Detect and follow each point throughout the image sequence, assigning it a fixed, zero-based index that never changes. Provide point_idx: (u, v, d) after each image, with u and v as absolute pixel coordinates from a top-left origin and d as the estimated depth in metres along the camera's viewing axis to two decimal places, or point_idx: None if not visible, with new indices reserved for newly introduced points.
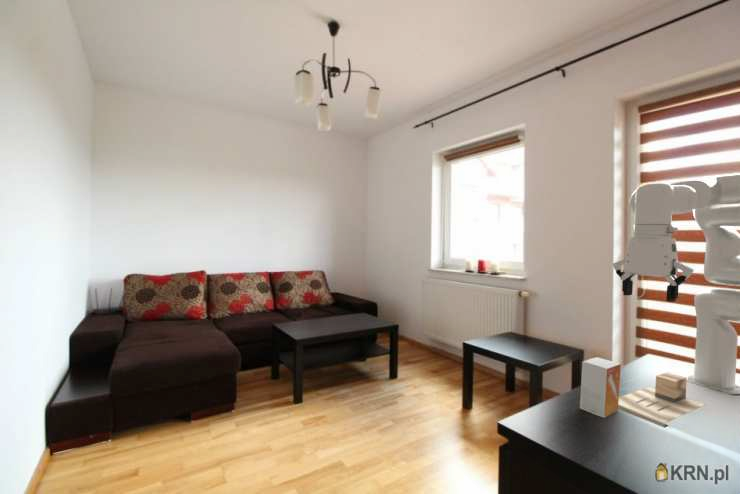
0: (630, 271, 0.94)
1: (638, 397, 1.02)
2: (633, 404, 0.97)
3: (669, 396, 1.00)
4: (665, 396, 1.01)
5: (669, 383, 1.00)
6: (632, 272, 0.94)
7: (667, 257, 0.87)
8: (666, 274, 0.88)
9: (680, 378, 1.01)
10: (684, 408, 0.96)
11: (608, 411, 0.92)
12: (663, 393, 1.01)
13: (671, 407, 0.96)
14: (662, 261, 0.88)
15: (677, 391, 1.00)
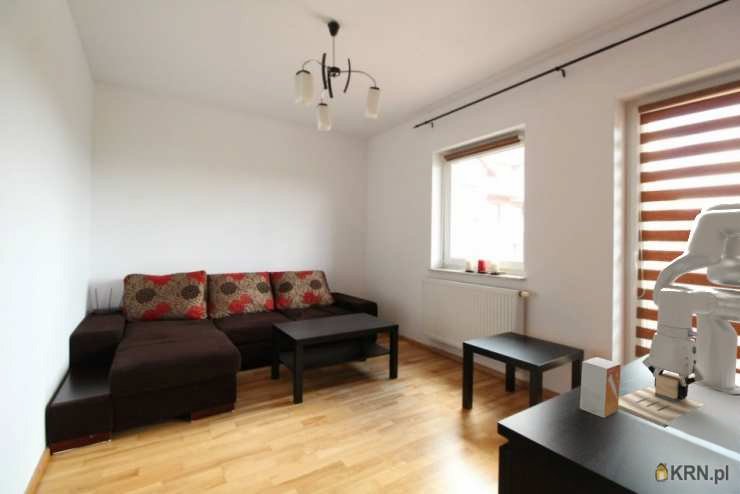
0: (653, 365, 1.05)
1: (638, 397, 1.02)
2: (633, 404, 0.97)
3: (669, 396, 1.00)
4: (665, 396, 1.01)
5: (669, 383, 1.00)
6: (655, 366, 1.04)
7: (688, 359, 0.98)
8: (687, 374, 0.98)
9: None
10: (684, 408, 0.96)
11: (608, 411, 0.92)
12: (663, 393, 1.01)
13: (671, 407, 0.96)
14: (684, 362, 0.98)
15: (677, 391, 1.00)
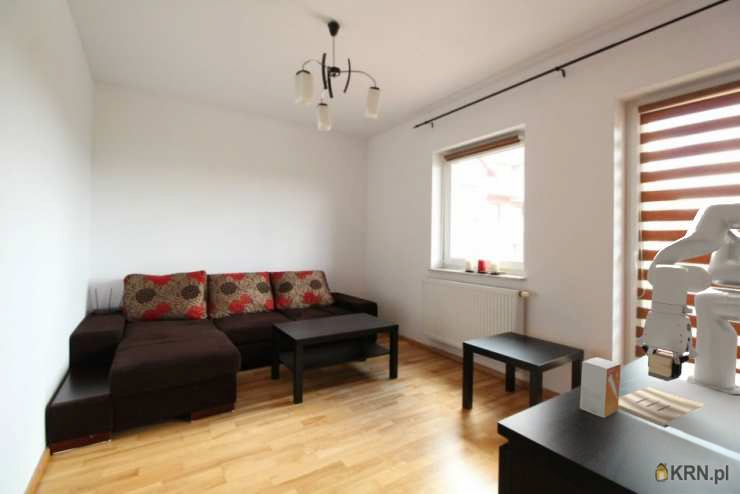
0: (647, 343, 1.02)
1: (638, 397, 1.02)
2: (633, 404, 0.97)
3: (662, 374, 0.98)
4: (658, 375, 0.98)
5: (662, 361, 0.98)
6: (649, 344, 1.02)
7: (683, 336, 0.95)
8: (681, 351, 0.96)
9: None
10: (684, 408, 0.96)
11: (608, 411, 0.92)
12: (656, 372, 0.99)
13: (671, 407, 0.96)
14: (678, 339, 0.96)
15: (671, 369, 0.98)
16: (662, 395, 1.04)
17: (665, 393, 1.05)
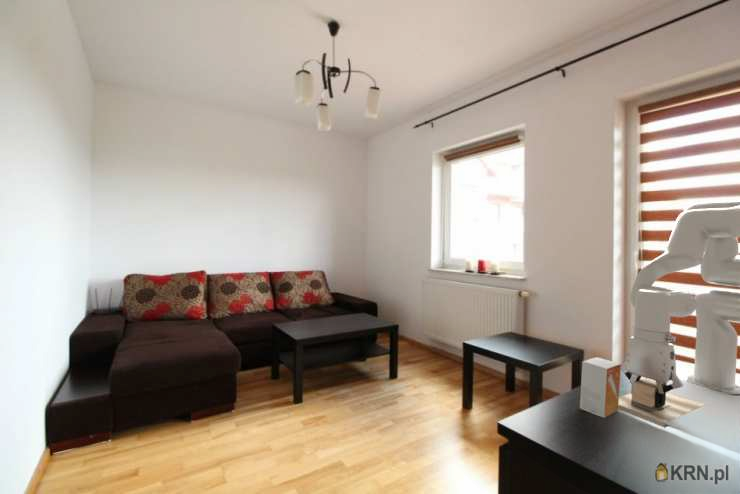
0: (630, 370, 0.98)
1: None
2: None
3: (645, 404, 0.94)
4: (641, 404, 0.95)
5: (645, 391, 0.94)
6: (632, 372, 0.98)
7: (666, 365, 0.91)
8: (665, 381, 0.92)
9: None
10: (684, 408, 0.96)
11: (608, 411, 0.92)
12: (639, 401, 0.95)
13: (671, 407, 0.96)
14: (661, 368, 0.92)
15: (654, 399, 0.94)
16: None
17: None
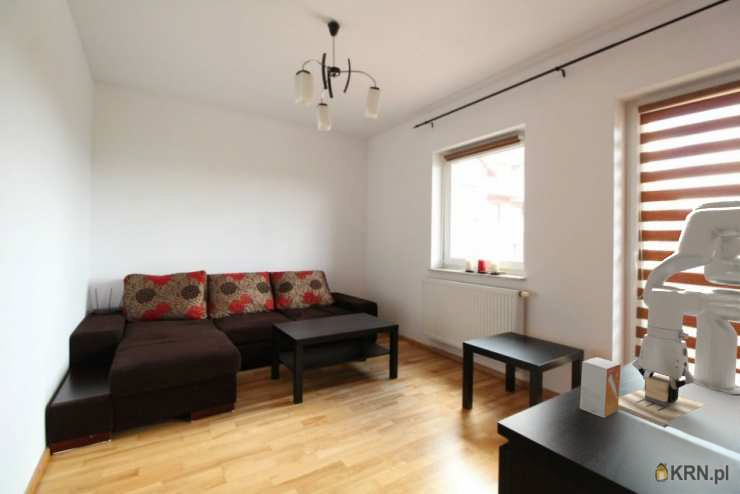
0: (644, 367, 1.02)
1: (638, 397, 1.02)
2: (633, 404, 0.97)
3: (659, 399, 0.97)
4: (655, 399, 0.98)
5: (659, 386, 0.97)
6: (645, 368, 1.01)
7: (679, 361, 0.95)
8: (678, 376, 0.95)
9: None
10: (684, 408, 0.96)
11: (608, 411, 0.92)
12: (653, 396, 0.98)
13: (671, 407, 0.96)
14: (674, 364, 0.96)
15: (667, 394, 0.97)
16: None
17: None
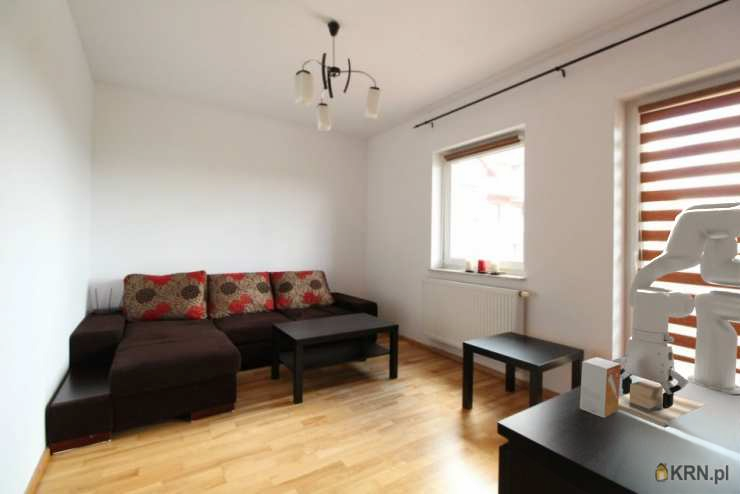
0: (628, 371, 0.98)
1: None
2: None
3: (643, 406, 0.93)
4: (639, 406, 0.94)
5: (643, 392, 0.93)
6: (630, 373, 0.98)
7: (664, 366, 0.91)
8: (663, 382, 0.91)
9: (656, 386, 0.95)
10: (684, 408, 0.96)
11: (608, 411, 0.92)
12: (637, 403, 0.95)
13: (671, 407, 0.96)
14: (659, 369, 0.92)
15: (652, 400, 0.93)
16: (662, 395, 1.04)
17: None
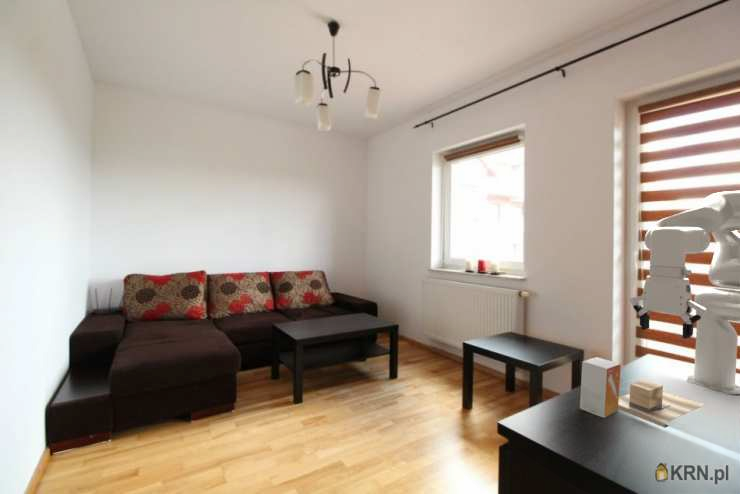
0: (647, 308, 1.01)
1: None
2: None
3: (643, 406, 0.93)
4: (639, 406, 0.94)
5: (643, 392, 0.93)
6: (649, 309, 1.01)
7: (682, 298, 0.94)
8: (682, 313, 0.95)
9: (656, 386, 0.95)
10: (684, 408, 0.96)
11: (608, 411, 0.92)
12: (637, 403, 0.95)
13: (671, 407, 0.96)
14: (677, 301, 0.95)
15: (652, 400, 0.93)
16: (662, 395, 1.04)
17: (665, 393, 1.05)
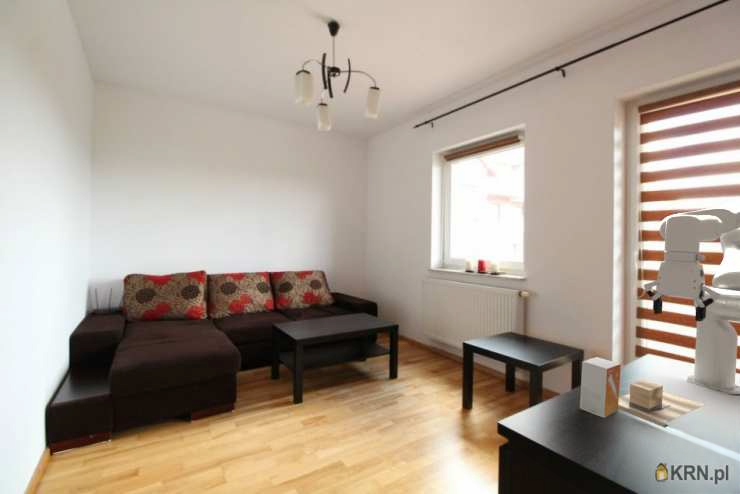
0: (661, 292, 1.05)
1: None
2: None
3: (643, 406, 0.93)
4: (639, 406, 0.94)
5: (643, 392, 0.93)
6: (663, 293, 1.05)
7: (696, 282, 0.98)
8: (695, 297, 0.98)
9: (656, 386, 0.95)
10: (684, 408, 0.96)
11: (608, 411, 0.92)
12: (637, 403, 0.95)
13: (671, 407, 0.96)
14: (691, 285, 0.99)
15: (652, 400, 0.93)
16: (662, 395, 1.04)
17: (665, 393, 1.05)
